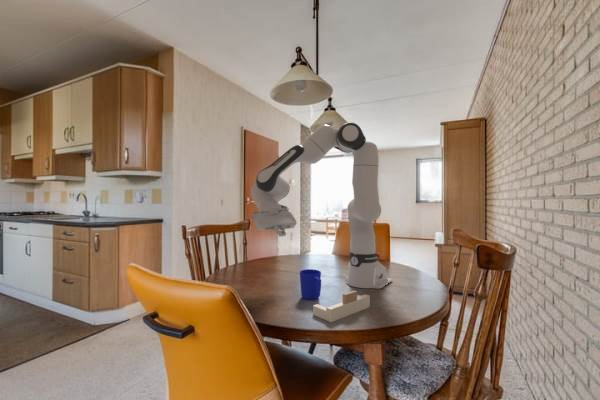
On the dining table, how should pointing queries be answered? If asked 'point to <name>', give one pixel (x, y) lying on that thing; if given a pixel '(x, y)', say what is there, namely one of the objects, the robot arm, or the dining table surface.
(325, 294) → the dining table surface
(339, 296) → the dining table surface
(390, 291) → the dining table surface
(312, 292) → the mug
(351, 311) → the beige blocky open frame
